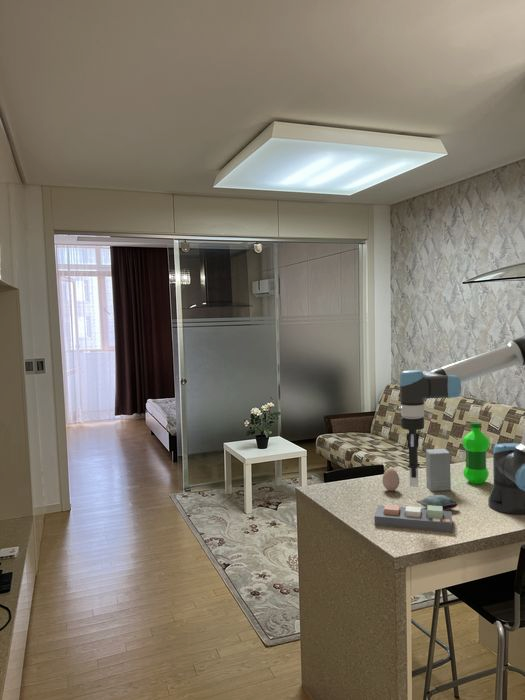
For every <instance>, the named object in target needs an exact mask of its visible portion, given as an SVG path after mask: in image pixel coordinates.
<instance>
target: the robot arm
mask: <svg viewBox="0 0 525 700" xmlns="http://www.w3.org/2000/svg"><path fill="white" fill-rule="evenodd" d="M513 366H516V367H523V366H525V335H523V336H520V337H517V338H514V339H513V340H509V341H508V343H507V344H506V345H504V346H503V345H502V346H500V347H497V348H494V349H491V350H489V351H486V352H483V353H480V354H477V355H473V356H471V357H468V358H466V359H463V360H460V361H456V362H454V363H451V364H448V365H445V366H442V367H439V368H436V369H433V370H424V371H422V370H418V369H416V370H414V369H410V370H408V369H407V370H403V371H401V372H400V374H399V375H400V376H399V388H400V389H399V392H400V394H399V395H400V397H399V398H400V406H398V410H400V416H401V417H400V428H401V429H403V430H408V432H407V433H406V441H407V442H406V443H407V448H408V459H409V460H408V465H407V468H408V470H409V487H413V488H418V487H419V467H420V466H421V464H420V463H418V462H419V459H418V458H419V457H418V454H419V453H418V448H419V441H420V433H419V432H417V431H420V430H423V429H424V428H425V418H424V416H425V403H424V401H425V400H424V399H453V398H454V399H455V398H458V397H460V395H461V393H462V384H463V383H467V382H469V381H472V380H474V379H477V378H481V377H484V376H486V375H489V374H493V373H496V372H499V371H502V370H505V369H508V368H511V367H513ZM523 428H524V429H523V433H522V438H521V442H520V443H515V442H514V443H512V442H511V443H509V442H508V443H505V442H504V443H497V444H495V445H494V446H493V452H492V457H493V459H492V460H493V461H492V462H493V470H492V471H493V477H492V478H493V484H492V487H491V490H490V492H489V496H488V499H487V500H488V502H487V503H488V507H489V508H490V509H493V510H494V511H497V512H501V513H504V514H505V513H506V514H509V515H510V514H512V515H525V426H524V427H523Z"/></svg>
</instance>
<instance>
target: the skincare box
mask: <svg viewBox="0 0 525 700" xmlns="http://www.w3.org/2000/svg"><path fill="white" fill-rule="evenodd" d="M425 467H426V468H425V469H426V470H425V471H426V487H427V489H428V490H429V491H430V492H443V491H444V492H445V491H451V490H452V488H451V487H452V484H451V483H452V482H451V481H452V480H451V477H452V476H451V452H449V451H448V449H446V448H434V449H425Z"/></svg>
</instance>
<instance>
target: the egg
mask: <svg viewBox="0 0 525 700" xmlns="http://www.w3.org/2000/svg"><path fill="white" fill-rule="evenodd" d="M381 482H382V485H383V487H384V489H385V490H387V491H389V492H395V490H398V487H399V486H400V477H399V474H398V472H397V470H395V469H394V468H393V467H392V468H391V467H390V468H389V467H388V468H387V469H386V470H385V471H384V472H383V475H382V481H381Z"/></svg>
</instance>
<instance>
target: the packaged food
mask: <svg viewBox="0 0 525 700" xmlns="http://www.w3.org/2000/svg"><path fill="white" fill-rule="evenodd" d="M416 503H418V504H420V505H421V506H422V507H424V508H426V509H427V506H428V505H432V506H442V508H443V511H450V510H452V509H454V508H456V507H458V506H459V505H458V503H457V502H456V500H454V499H452V498H451V497H449V496H447V495H445V494H444V495H443V494H433V495H428V496H426V497H424V498H421V499H420V500H416Z"/></svg>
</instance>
